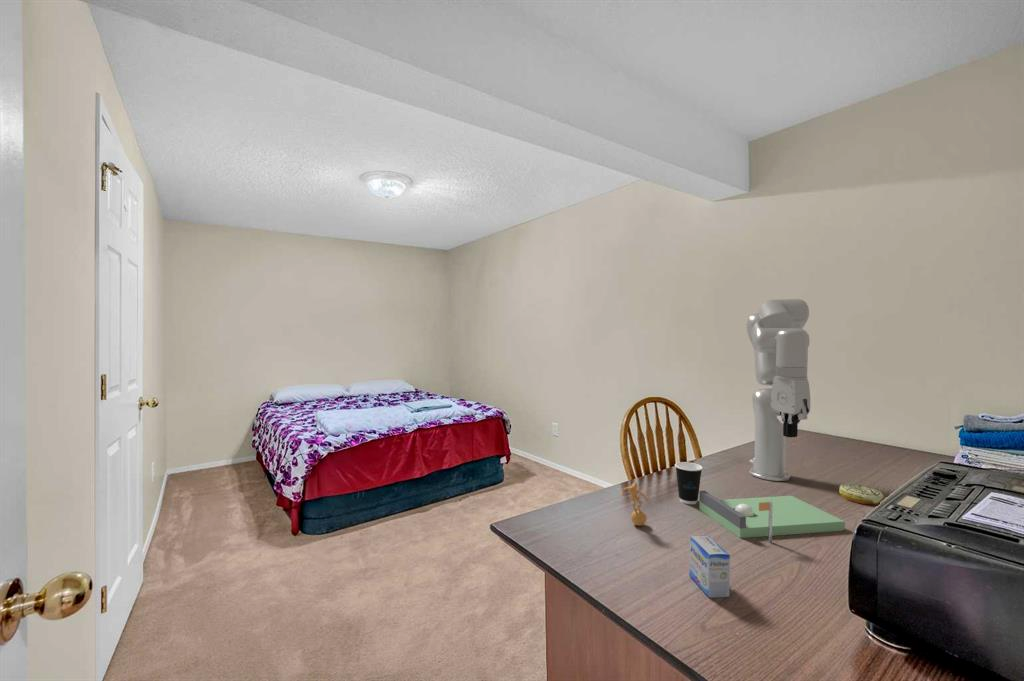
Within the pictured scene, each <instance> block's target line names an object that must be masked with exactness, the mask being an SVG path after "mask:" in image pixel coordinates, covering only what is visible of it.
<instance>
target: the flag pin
mask: <svg viewBox="0 0 1024 681" xmlns="http://www.w3.org/2000/svg"><path fill="white" fill-rule="evenodd" d="M768 510H769V521H768V536H767V538H768V539H767V540H768V543H769V544H773V536H772V502H770V501H769V502H761V503H759V511H768Z"/></svg>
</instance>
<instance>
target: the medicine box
mask: <svg viewBox="0 0 1024 681" xmlns="http://www.w3.org/2000/svg"><path fill="white" fill-rule="evenodd" d="M688 566H689V569H688V570H689V572H688V575H689V577H690V579H691V580H692V581H693V582H694V583H695V584H696V585H697V587H699V588H700V589H701V590H702V592H703V593H704V594H705V595H706V596H707V597H708V598H709V599H713V598H730V587H731V586H730V580H731V579H730V576H731V575H730V572H731V555H730V554H729V553H728V552H727V551H726V550H725V549H723V547H721V545H719V544H718V543H717V542H716V541H715V540H714V539H712V538H711V537H710V536H708V535H697V536H696V535H695V536H690V537H689V565H688Z"/></svg>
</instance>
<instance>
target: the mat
mask: <svg viewBox="0 0 1024 681" xmlns="http://www.w3.org/2000/svg"><path fill="white" fill-rule="evenodd" d="M698 500H699V505H698V506H699V508H698V509H699V510H700V511H701V512H703V513H704V514H705V515H707V516H708V517H710V518H711V519H712V520H713V521H715V522H717V523H718V524H719V525H721V526H722V527H724V528H725V529H726V530H728V531H729V532H731V533H732V534H733V535H735V536H737V538H739V539H745V538H746V539H747V538H759V537H768V521H769V510H768V511H759V503H761V502H769V501H770V502H772V537H774V536H775V537H776V536H786V535H787V536H788V535H799V534H800V535H802V534H814V533H828V532H843V530H846V528H845V527H846V521H845V520H842V519H840V518H839V517H836V516H835V515H833V514H831V513H828V512H826V511H824V510H822V509H820V508H819V507H817V506H814V505H812V504H810V503H808V502H806V501H803V500H801V499H799V498H797V497H796V496H793V495H781V496H778V495H777V496H763V497H749V498H748V497H747V498H727V499H719V498H717V497H716V496H714V495H712V494H711V493H709V492H708V491H706V490H699V494H698ZM739 504H747V505H749V506H750V507H751V508H752V510H753V517H746V516H744V515H743V514H741V513H740V512H738V511H736V510H735V508H736V506H737V505H739Z"/></svg>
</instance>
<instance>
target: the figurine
mask: <svg viewBox="0 0 1024 681" xmlns="http://www.w3.org/2000/svg"><path fill="white" fill-rule="evenodd" d="M627 490H628V492H629V494H630V496H629V497H630V499H631V501H632V502H633V503H632V508H633V512H632V513H631V515H630V518H631V519H630V520H631V521H632V523H633V524H634V525H635V526H638V527H639V526H640V527H641V526H644V525H645V524H646V522H647V515H646V514H645V512H644V511H643V510H640V508H641V507H642V504H643V502H642V499H640V497H639V496H638V495H639V494H640V496H642V497H643V498H644V500H645V501H647V502H648V504H649V505H651V502H650V501H649V498H648V497H646V495H645V494H644V493H643V492H641V490H639V489H638V484H637V482H633V483H632V485H631V486H626V487H624V488H622V495H621V496H622V497H624V496H625V494H626V493H625V491H627ZM636 503H638V505H637V508H636V507H635V506H636Z"/></svg>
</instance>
